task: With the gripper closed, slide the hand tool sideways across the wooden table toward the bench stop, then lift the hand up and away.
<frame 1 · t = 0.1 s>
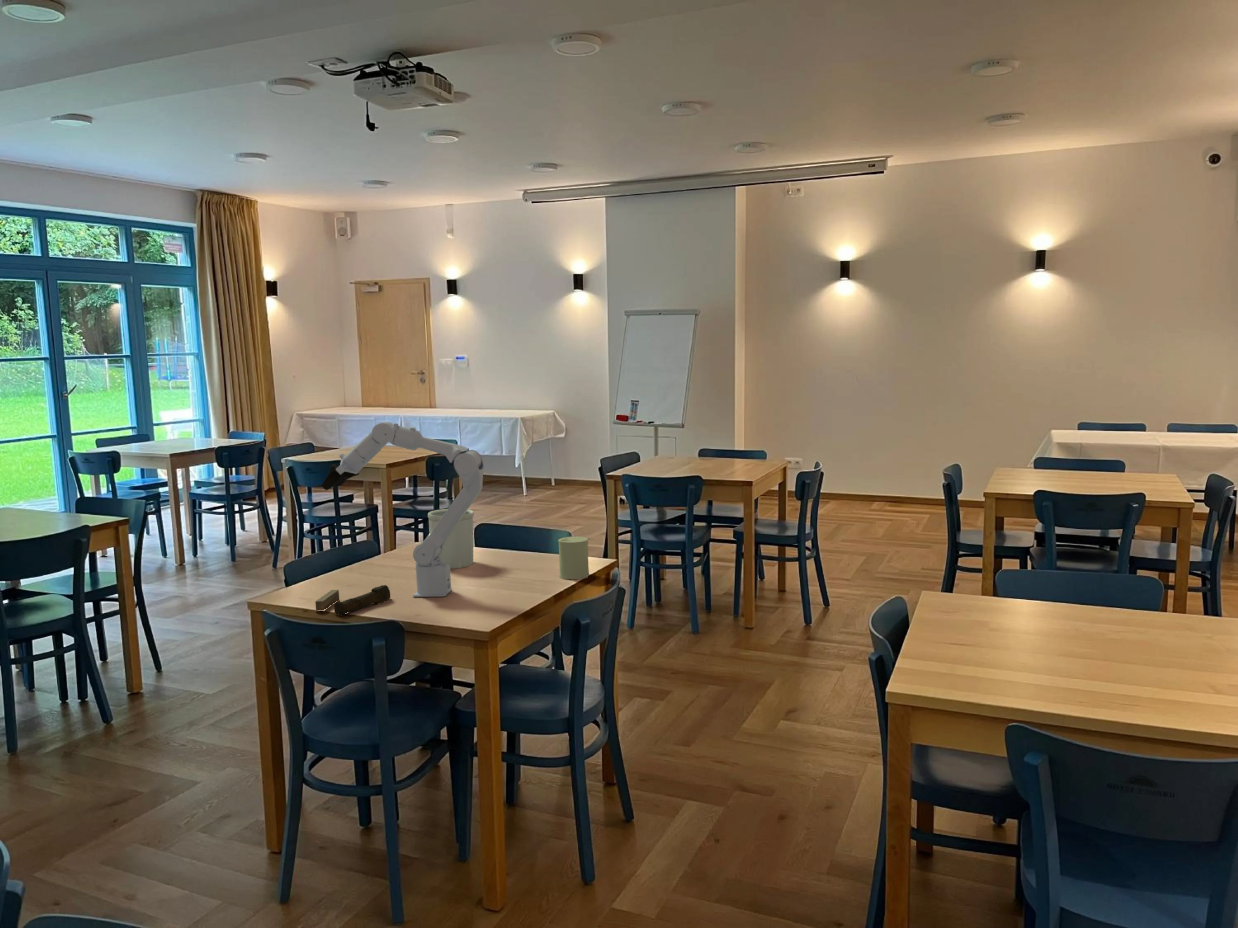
hand: (328, 485, 256), 32 cm above the table, tool tilted 50°, fingers open, 7 cm apart
bench stop: (328, 605, 248), on the table
can: (574, 576, 275), on the table
hand tool: (363, 608, 247), on the table
utensil holder: (453, 564, 296), on the table
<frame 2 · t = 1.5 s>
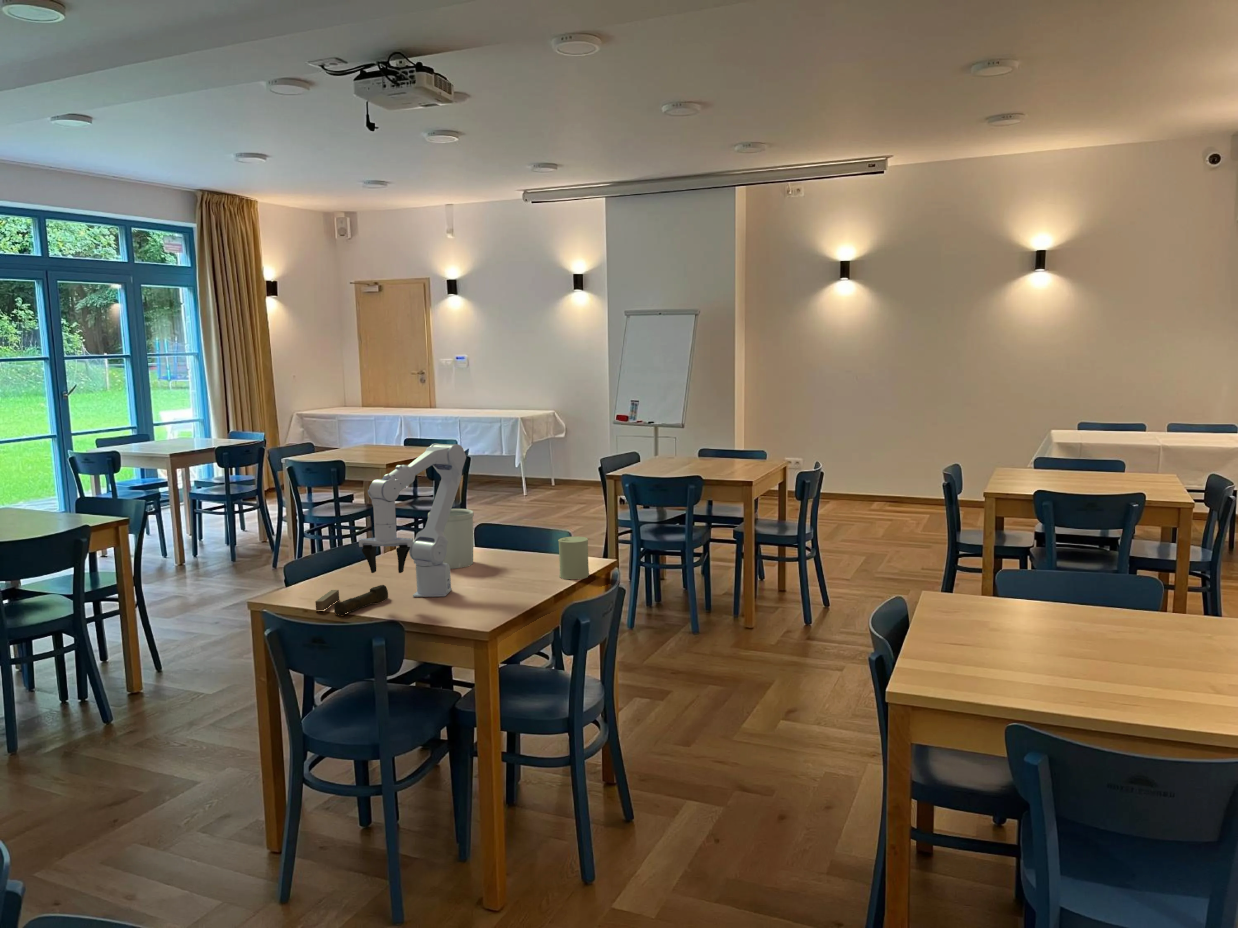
hand: (387, 572, 245), 10 cm above the table, tool pointing down, fingers open, 7 cm apart
nothing on the table moved.
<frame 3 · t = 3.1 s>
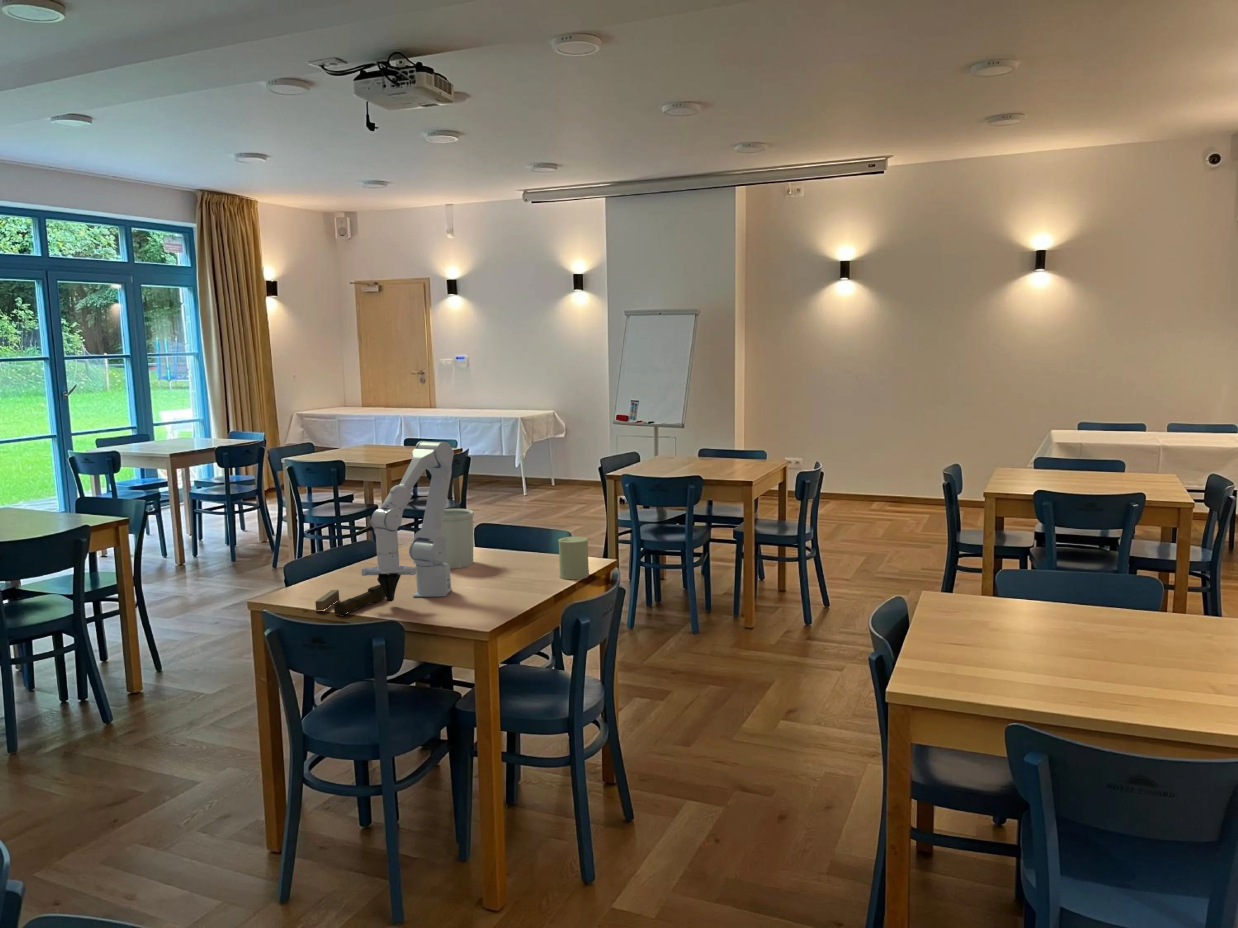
hand: (390, 600, 246), 2 cm above the table, tool pointing down, fingers closed
nothing on the table moved.
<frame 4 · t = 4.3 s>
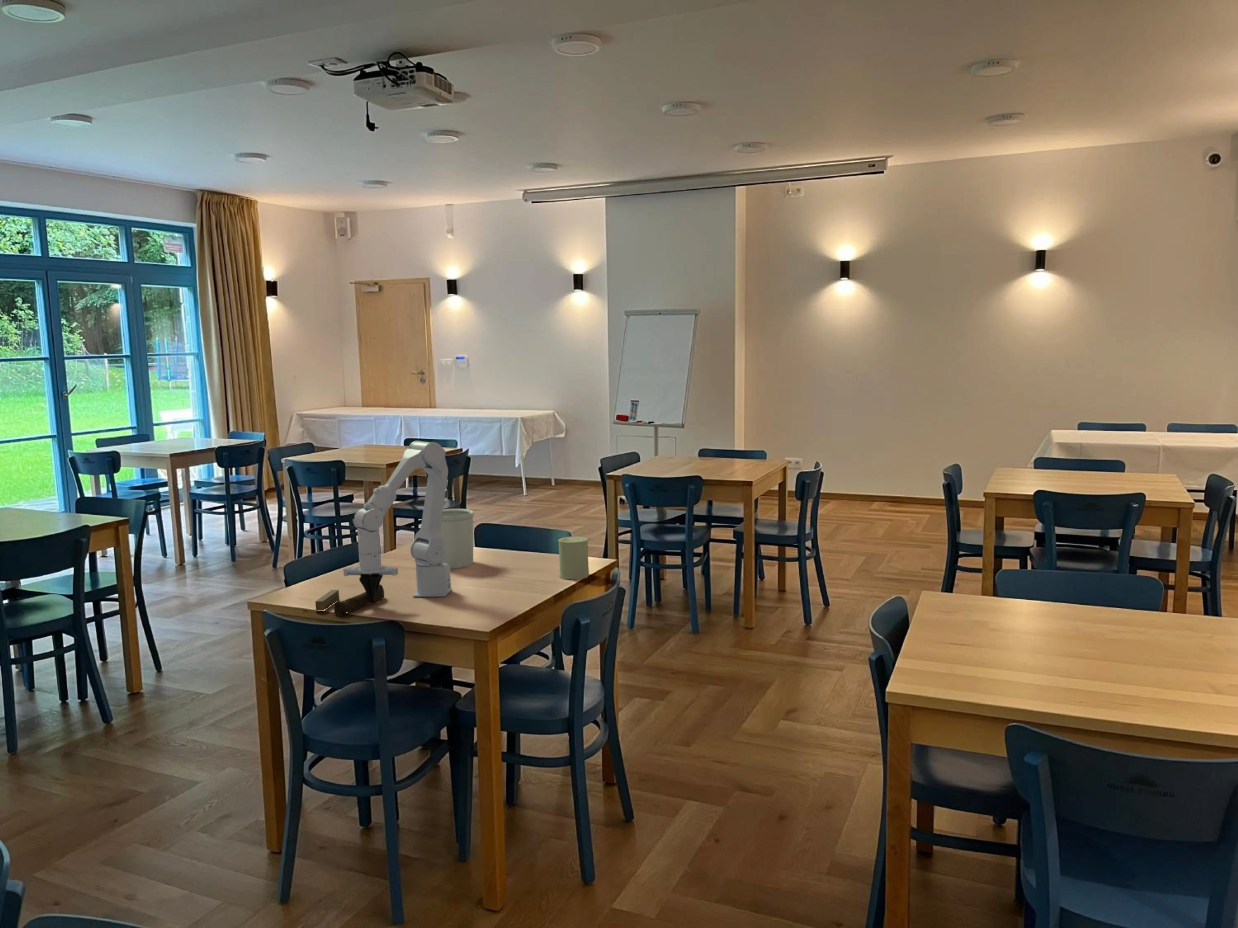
hand: (372, 600, 246), 2 cm above the table, tool pointing down, fingers closed
hand tool: (360, 607, 247), on the table, touching gripper
everything else where it was.
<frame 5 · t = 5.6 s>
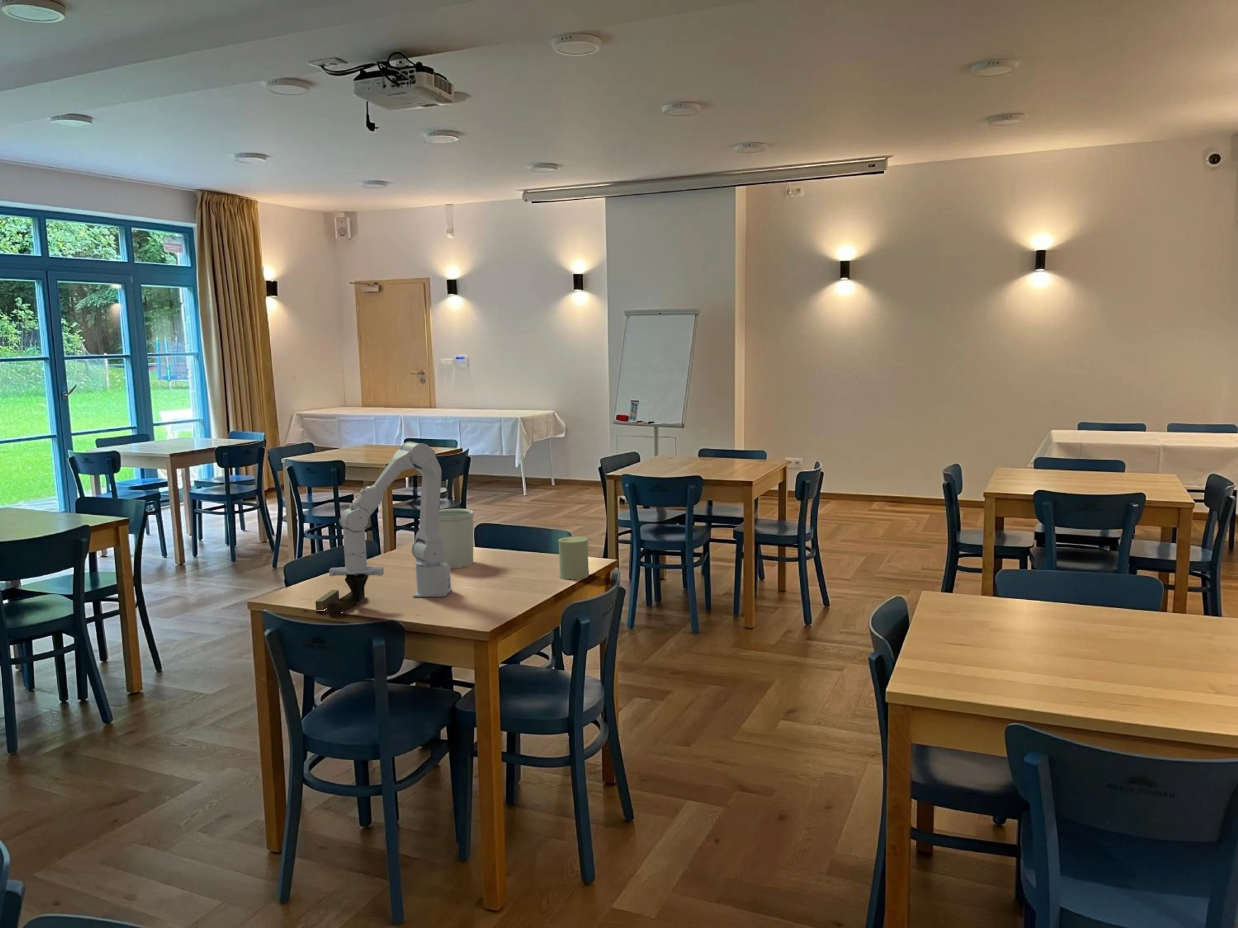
hand: (358, 600, 247), 2 cm above the table, tool pointing down, fingers closed
hand tool: (348, 607, 248), on the table
everything else where it was.
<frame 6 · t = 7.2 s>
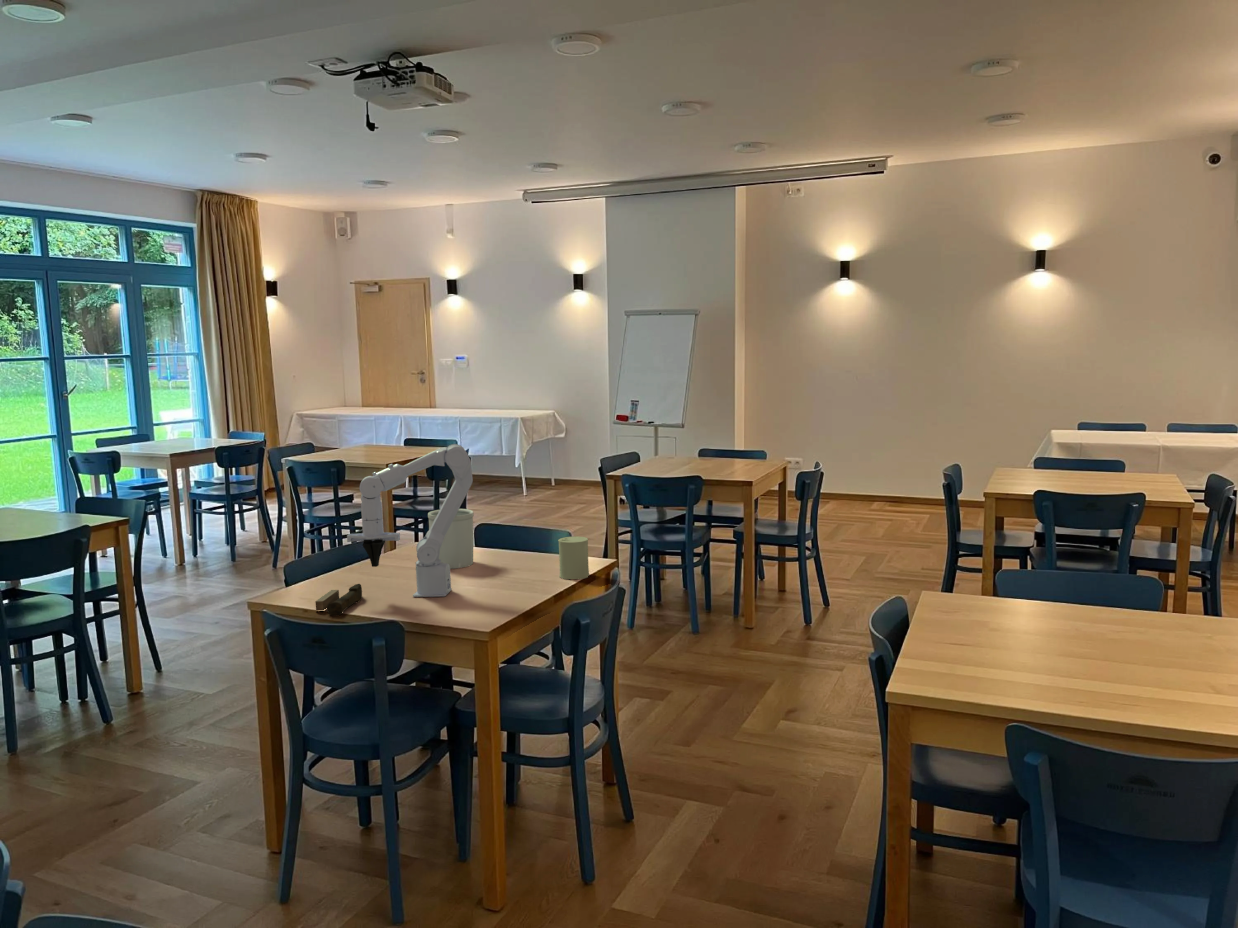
hand: (375, 565, 254), 9 cm above the table, tool pointing down, fingers closed
nothing on the table moved.
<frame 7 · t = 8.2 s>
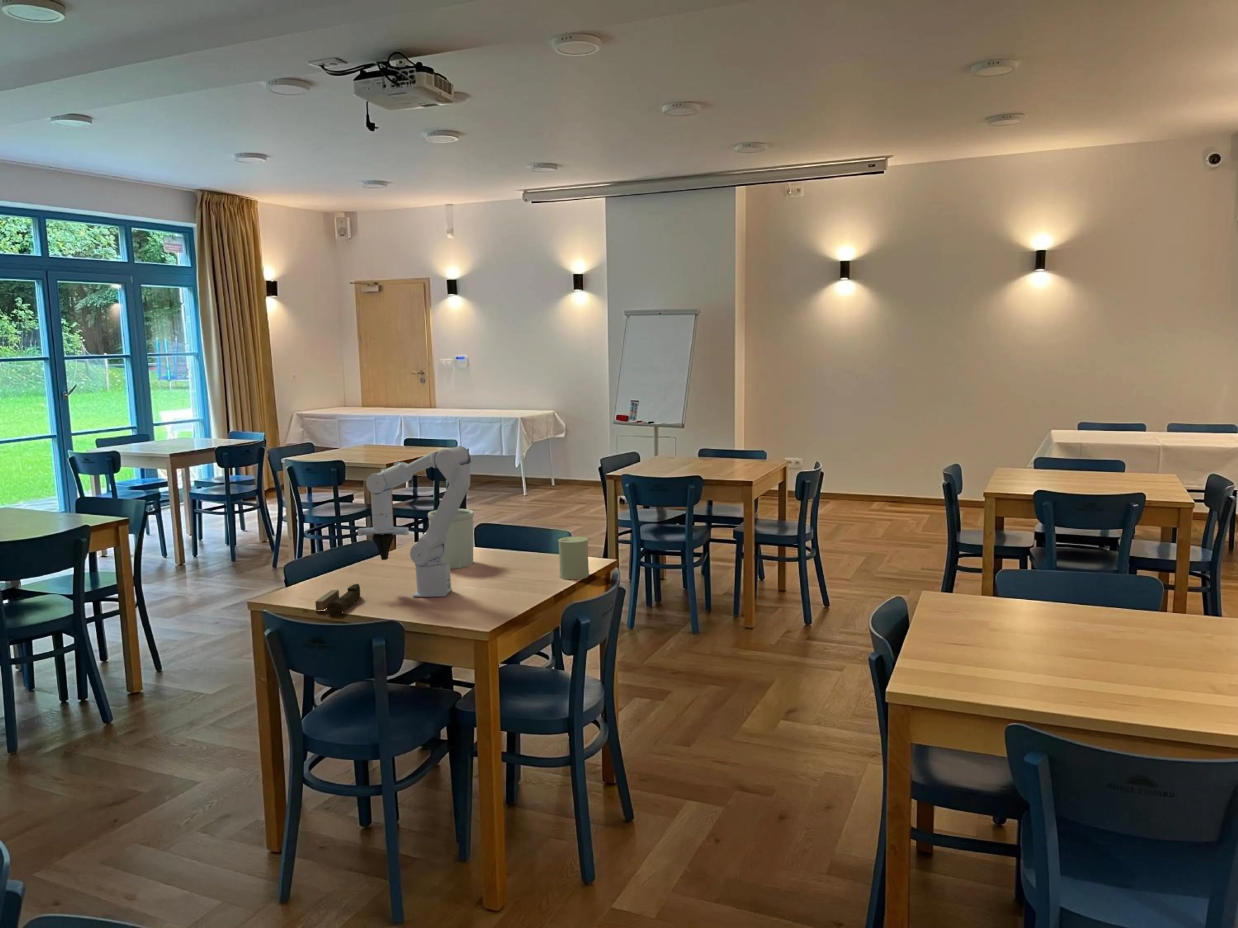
hand: (384, 559, 262), 9 cm above the table, tool pointing down, fingers closed
nothing on the table moved.
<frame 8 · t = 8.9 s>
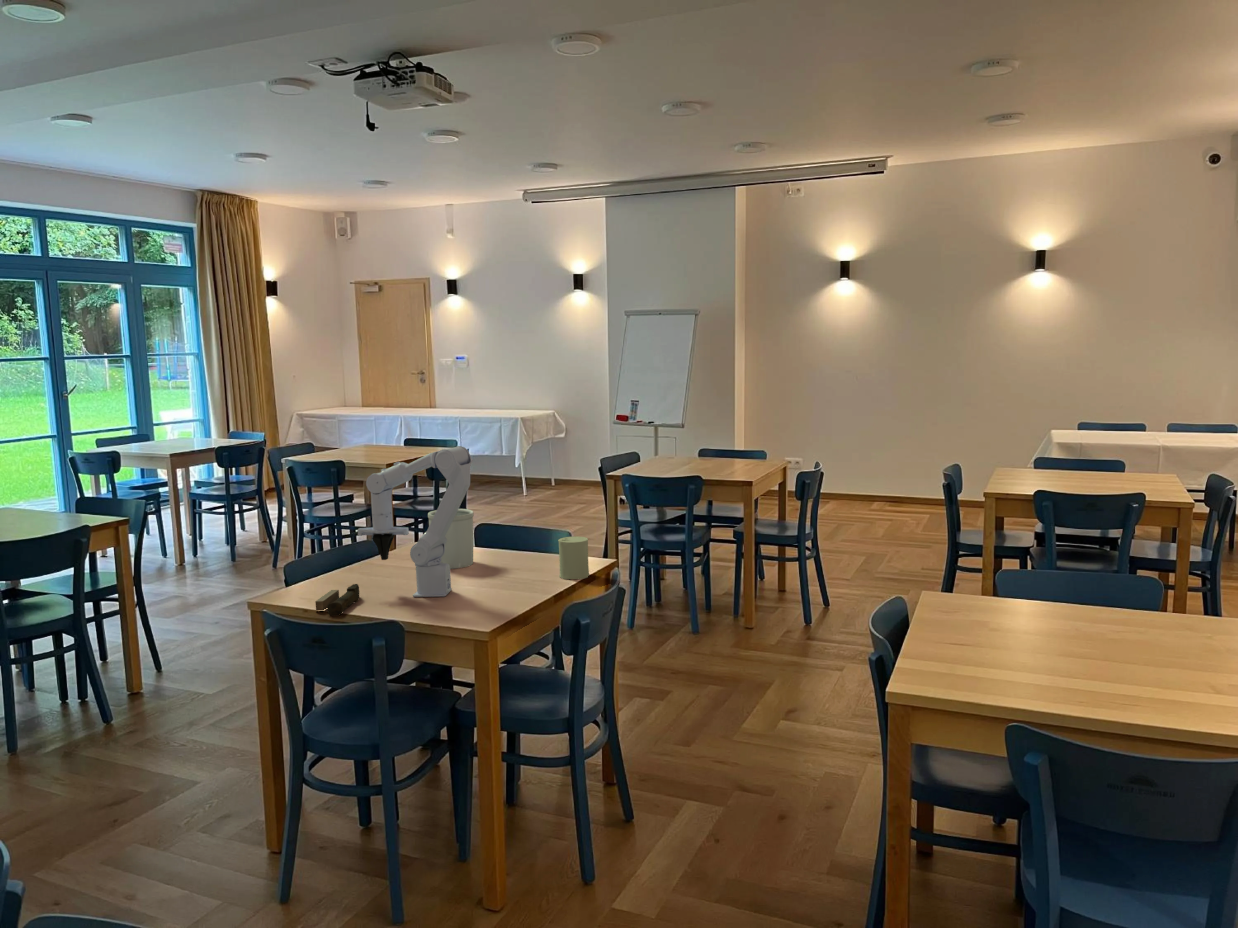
hand: (384, 559, 262), 9 cm above the table, tool pointing down, fingers closed
nothing on the table moved.
at the end: hand tool inside the target area (0.8 cm from its centre), on the table; hand tool moved 5.7 cm from its start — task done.
